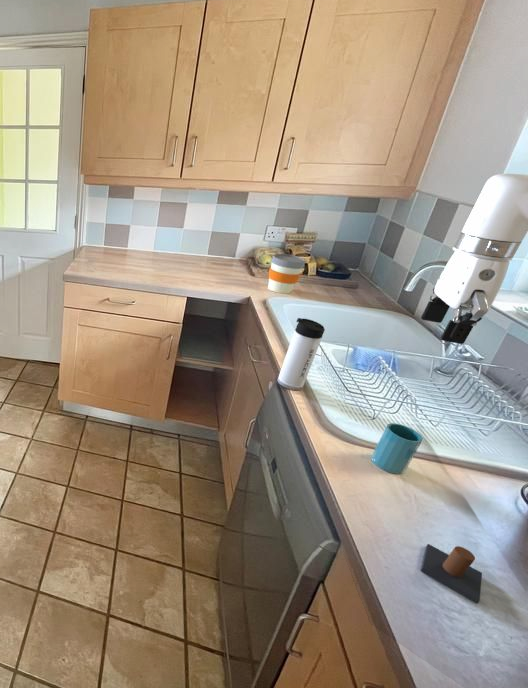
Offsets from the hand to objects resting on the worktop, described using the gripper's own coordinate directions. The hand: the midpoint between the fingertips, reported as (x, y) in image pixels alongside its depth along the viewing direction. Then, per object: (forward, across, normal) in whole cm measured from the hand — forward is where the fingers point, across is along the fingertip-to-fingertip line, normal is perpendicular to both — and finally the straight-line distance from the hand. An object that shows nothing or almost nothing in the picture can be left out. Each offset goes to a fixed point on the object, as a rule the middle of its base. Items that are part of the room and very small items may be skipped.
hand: (440, 330), depth 81 cm
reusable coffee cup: (+32, +107, +10) cm, 112 cm away
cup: (+32, -3, -2) cm, 32 cm away
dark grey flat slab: (+32, -29, -4) cm, 43 cm away
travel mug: (+32, +23, +15) cm, 42 cm away
